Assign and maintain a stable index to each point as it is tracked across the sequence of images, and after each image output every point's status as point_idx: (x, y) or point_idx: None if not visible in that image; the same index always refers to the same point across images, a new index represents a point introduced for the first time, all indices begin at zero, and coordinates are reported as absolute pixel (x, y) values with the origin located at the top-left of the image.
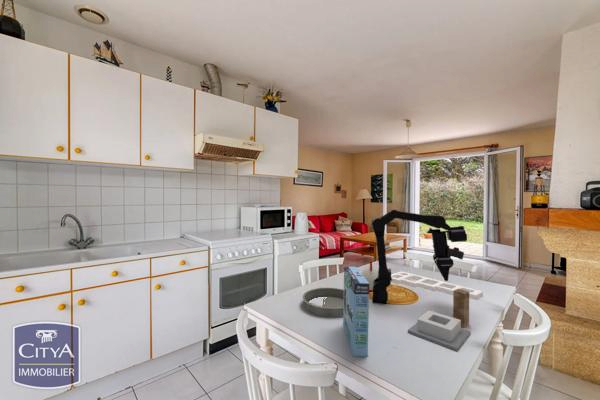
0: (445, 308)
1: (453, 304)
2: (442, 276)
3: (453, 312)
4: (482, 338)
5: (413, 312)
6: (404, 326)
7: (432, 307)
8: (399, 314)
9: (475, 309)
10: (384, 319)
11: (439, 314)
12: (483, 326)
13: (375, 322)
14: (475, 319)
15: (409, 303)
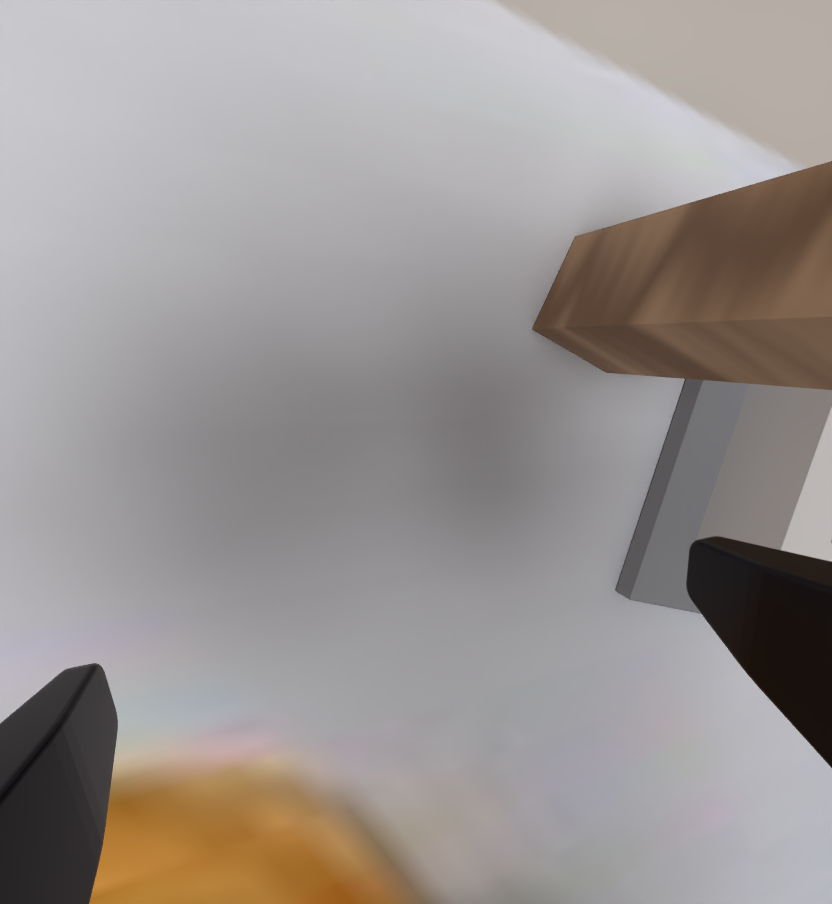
0: (243, 451)
1: (760, 382)
2: (114, 731)
3: (685, 375)
4: (764, 166)
5: (526, 700)
6: None
7: (297, 581)
8: (615, 772)
9: (25, 67)
10: (732, 815)
11: (817, 496)
12: (547, 99)
13: (789, 836)
14: (407, 144)
15: (314, 801)
